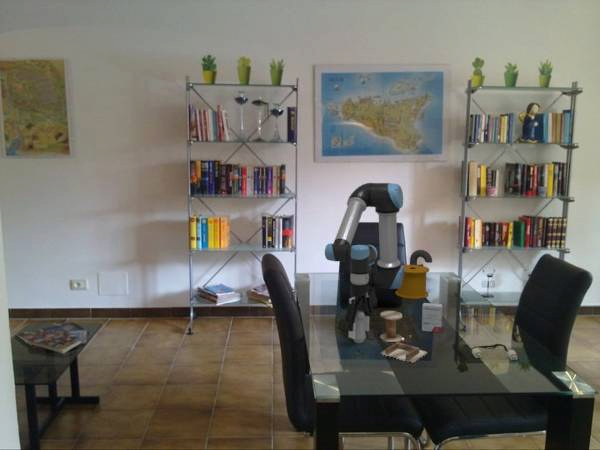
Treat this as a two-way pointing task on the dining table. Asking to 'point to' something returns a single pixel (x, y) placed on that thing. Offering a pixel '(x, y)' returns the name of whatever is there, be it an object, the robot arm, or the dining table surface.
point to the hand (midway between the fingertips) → (358, 334)
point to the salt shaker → (359, 328)
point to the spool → (413, 282)
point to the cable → (510, 353)
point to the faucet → (418, 254)
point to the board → (404, 352)
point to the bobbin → (391, 326)
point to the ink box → (432, 317)
